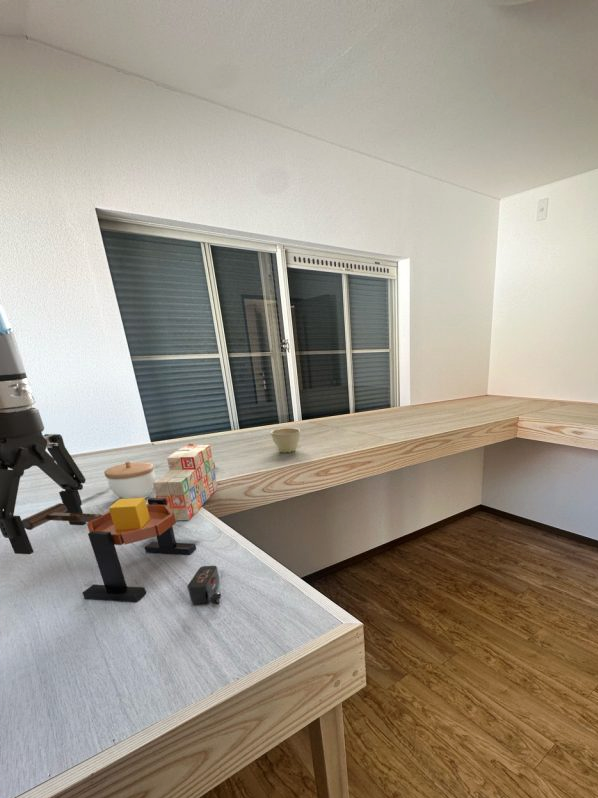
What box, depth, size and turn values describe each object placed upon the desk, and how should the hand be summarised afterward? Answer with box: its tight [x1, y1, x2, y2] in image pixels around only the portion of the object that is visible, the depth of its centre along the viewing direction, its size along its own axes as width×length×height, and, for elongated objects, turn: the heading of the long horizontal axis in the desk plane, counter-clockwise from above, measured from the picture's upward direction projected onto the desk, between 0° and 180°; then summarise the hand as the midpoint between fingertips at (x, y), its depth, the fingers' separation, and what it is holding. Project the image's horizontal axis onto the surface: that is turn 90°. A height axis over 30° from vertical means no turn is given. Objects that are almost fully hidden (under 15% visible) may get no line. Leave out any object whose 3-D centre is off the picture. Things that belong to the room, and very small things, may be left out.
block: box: [108, 498, 150, 530], centre depth 69 cm, size 4×4×4 cm
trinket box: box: [103, 461, 156, 499], centre depth 105 cm, size 11×11×9 cm
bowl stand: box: [81, 497, 197, 603], centre depth 71 cm, size 9×18×11 cm, turn 173°
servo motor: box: [187, 565, 222, 606], centre depth 66 cm, size 5×7×3 cm, turn 3°
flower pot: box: [270, 427, 301, 453], centre depth 147 cm, size 10×10×7 cm
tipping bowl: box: [21, 502, 177, 546], centre depth 70 cm, size 23×13×2 cm, turn 83°
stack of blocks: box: [153, 444, 218, 521], centre depth 100 cm, size 21×6×12 cm, turn 4°
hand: (53, 537), depth 73 cm, fingers open, 10 cm apart
